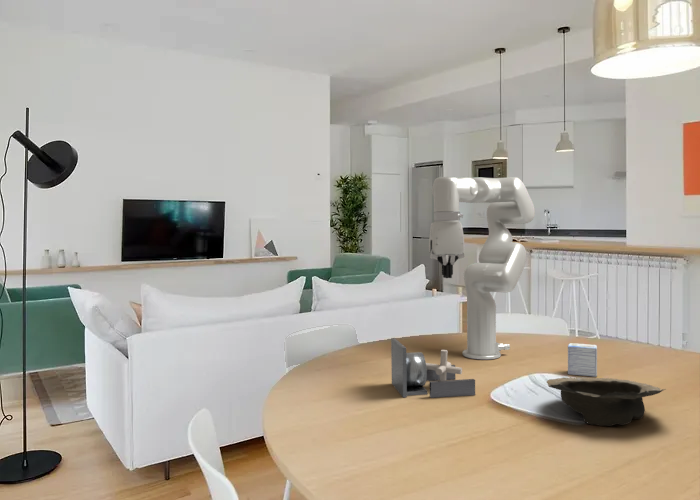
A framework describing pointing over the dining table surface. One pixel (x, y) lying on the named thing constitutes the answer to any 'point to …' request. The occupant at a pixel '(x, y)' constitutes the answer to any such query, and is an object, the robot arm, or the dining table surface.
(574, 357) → the medicine box
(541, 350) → the dining table surface
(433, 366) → the pipe connector
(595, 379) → the stone bowl
